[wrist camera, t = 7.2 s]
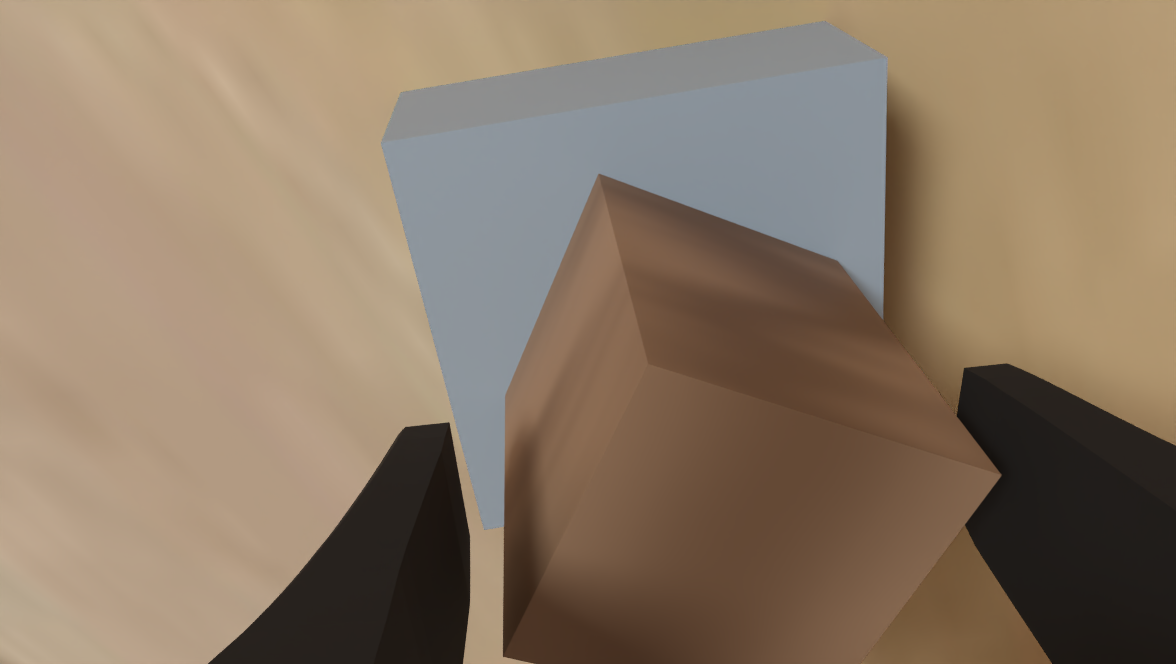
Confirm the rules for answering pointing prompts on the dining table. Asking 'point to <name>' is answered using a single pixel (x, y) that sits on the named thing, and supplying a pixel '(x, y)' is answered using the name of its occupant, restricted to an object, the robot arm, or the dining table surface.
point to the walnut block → (717, 452)
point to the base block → (636, 157)
